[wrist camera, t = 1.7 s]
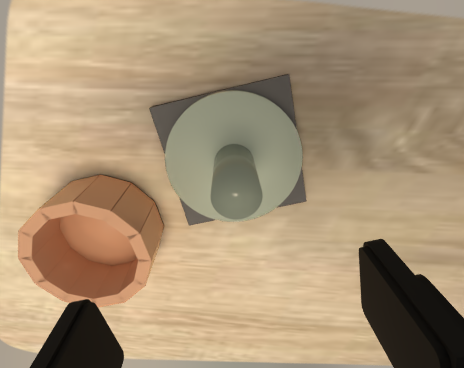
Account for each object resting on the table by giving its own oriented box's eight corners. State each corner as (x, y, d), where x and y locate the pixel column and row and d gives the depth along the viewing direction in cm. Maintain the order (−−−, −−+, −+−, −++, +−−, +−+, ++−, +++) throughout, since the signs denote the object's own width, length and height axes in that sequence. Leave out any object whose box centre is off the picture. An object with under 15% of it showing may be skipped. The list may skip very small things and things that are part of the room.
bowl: (140, 165, 25) (121, 190, 20) (175, 256, 29) (165, 294, 24) (33, 189, 26) (-9, 219, 21) (82, 275, 30) (55, 315, 25)
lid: (289, 74, 22) (316, 83, 15) (306, 201, 26) (333, 250, 20) (149, 108, 22) (117, 130, 16) (189, 225, 27) (177, 280, 20)
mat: (287, 74, 22) (289, 74, 22) (304, 198, 26) (306, 201, 26) (150, 107, 23) (149, 108, 22) (189, 222, 27) (189, 225, 27)
